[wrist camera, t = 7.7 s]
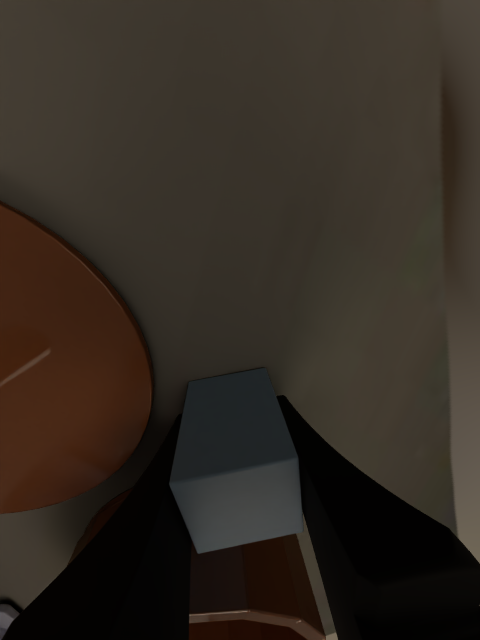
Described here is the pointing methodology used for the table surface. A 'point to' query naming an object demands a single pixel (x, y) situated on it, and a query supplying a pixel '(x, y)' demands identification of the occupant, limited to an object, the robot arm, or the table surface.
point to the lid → (63, 370)
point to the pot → (242, 588)
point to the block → (235, 463)
